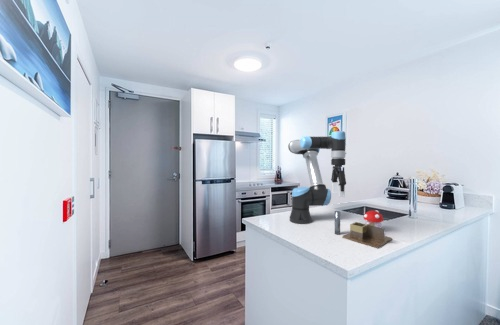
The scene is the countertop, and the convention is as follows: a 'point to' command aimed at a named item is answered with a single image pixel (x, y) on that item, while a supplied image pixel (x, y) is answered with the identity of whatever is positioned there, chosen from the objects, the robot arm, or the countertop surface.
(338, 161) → the robot arm
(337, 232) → the pin
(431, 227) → the countertop surface
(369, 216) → the mushroom
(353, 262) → the countertop surface
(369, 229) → the square socket plate
